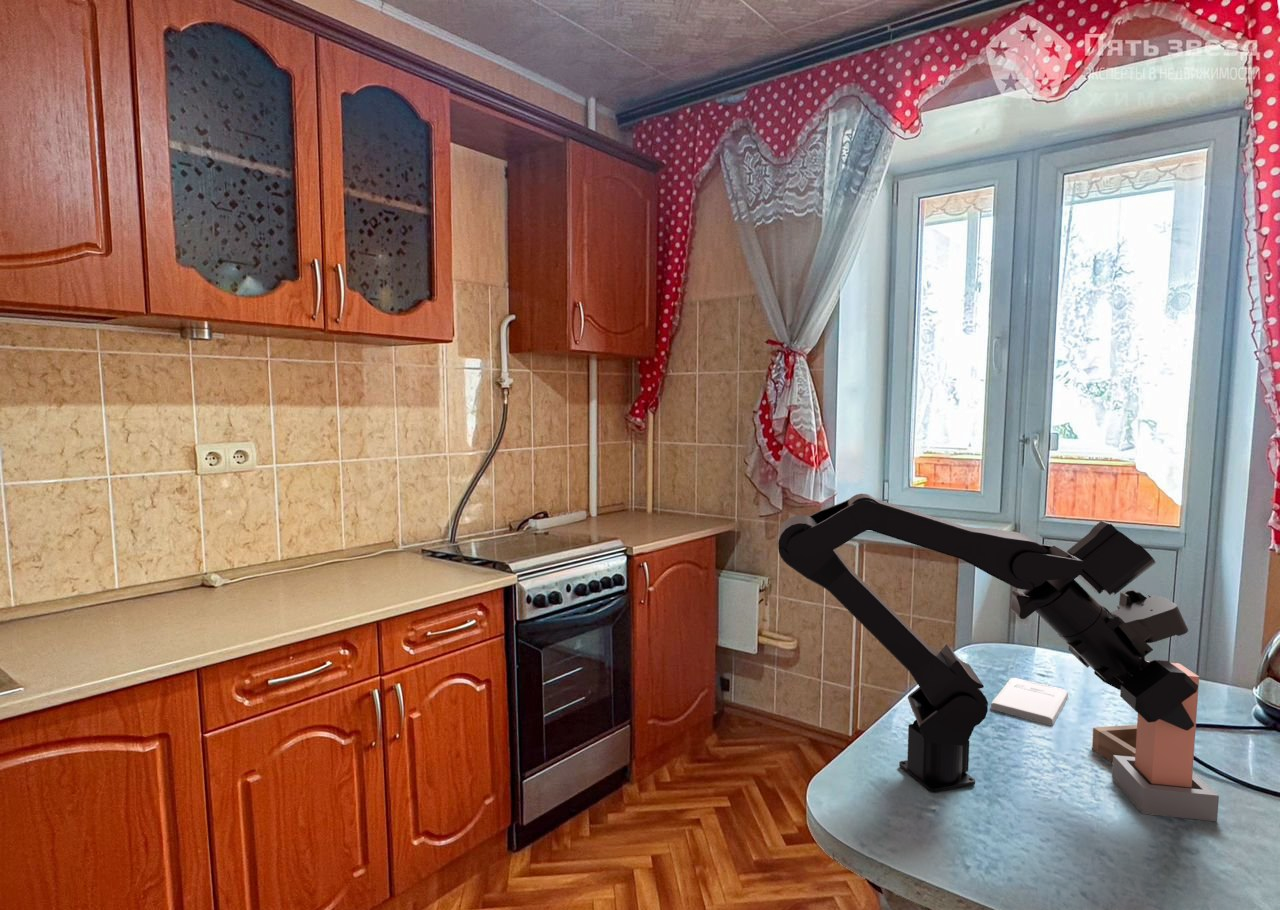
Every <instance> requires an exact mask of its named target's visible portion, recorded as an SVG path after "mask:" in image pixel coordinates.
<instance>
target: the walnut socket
mask: <svg viewBox="0 0 1280 910" xmlns="http://www.w3.org/2000/svg"><path fill="white" fill-rule="evenodd" d="M1136 735H1137V724H1127V725H1126V724H1125V725H1112V726H1097V727H1092V742H1091V743H1092V746H1091V749H1092V750H1093V751H1095V752H1096V753H1097V754H1099V755H1101V756H1102V757H1103V758H1105V759H1106V760H1108V761H1110V763H1112V764H1113V755H1118V756H1129V757H1135V751H1136Z"/></svg>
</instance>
